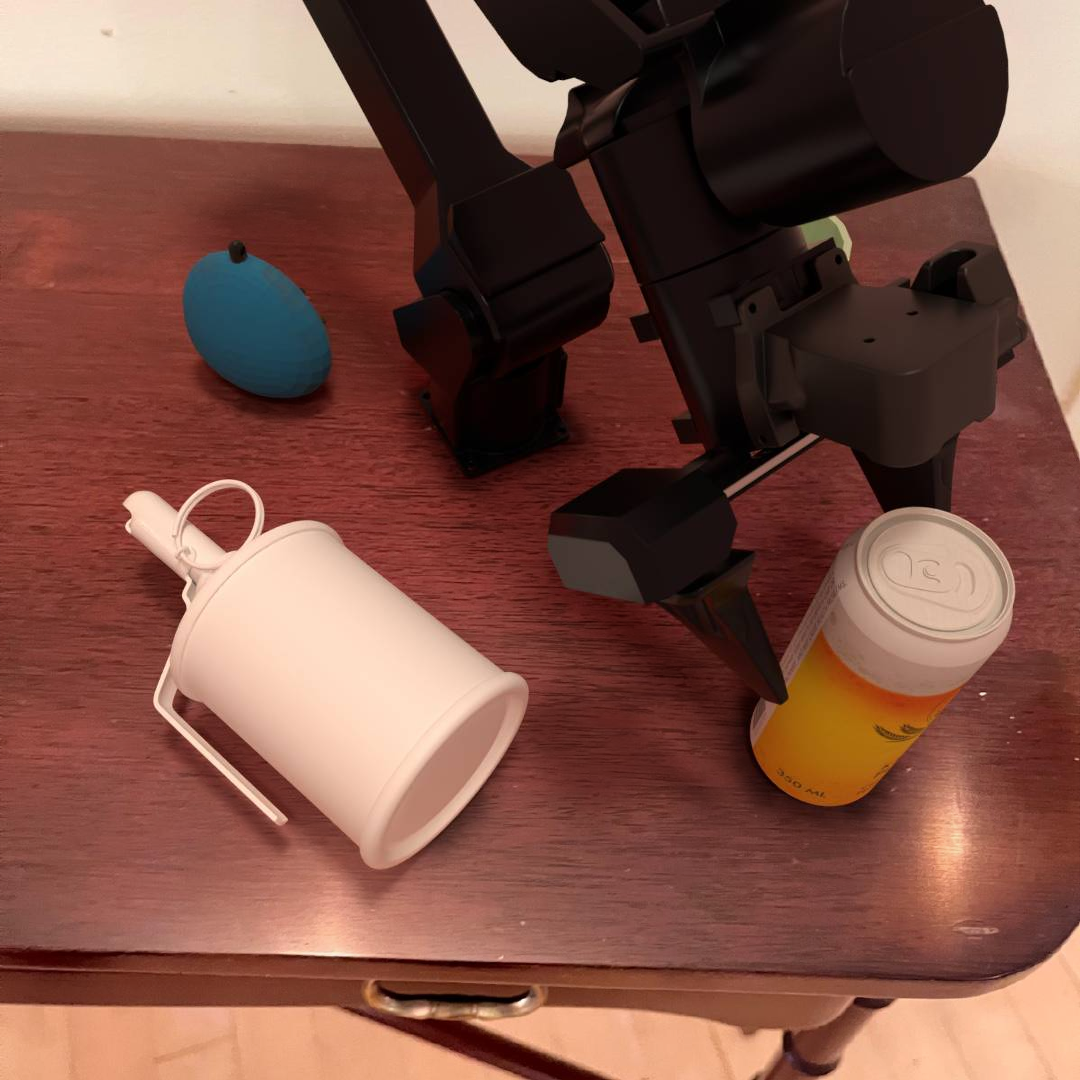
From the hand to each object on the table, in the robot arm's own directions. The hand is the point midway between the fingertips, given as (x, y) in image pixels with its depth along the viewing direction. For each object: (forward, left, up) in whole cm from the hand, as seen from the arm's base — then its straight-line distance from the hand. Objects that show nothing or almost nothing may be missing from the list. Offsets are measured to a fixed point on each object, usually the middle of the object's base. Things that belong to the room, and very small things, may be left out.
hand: (859, 635), depth 39 cm
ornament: (-14, +31, -9) cm, 35 cm away
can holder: (+16, +25, -9) cm, 31 cm away
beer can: (0, -1, -9) cm, 9 cm away
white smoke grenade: (-16, +3, -5) cm, 17 cm away
